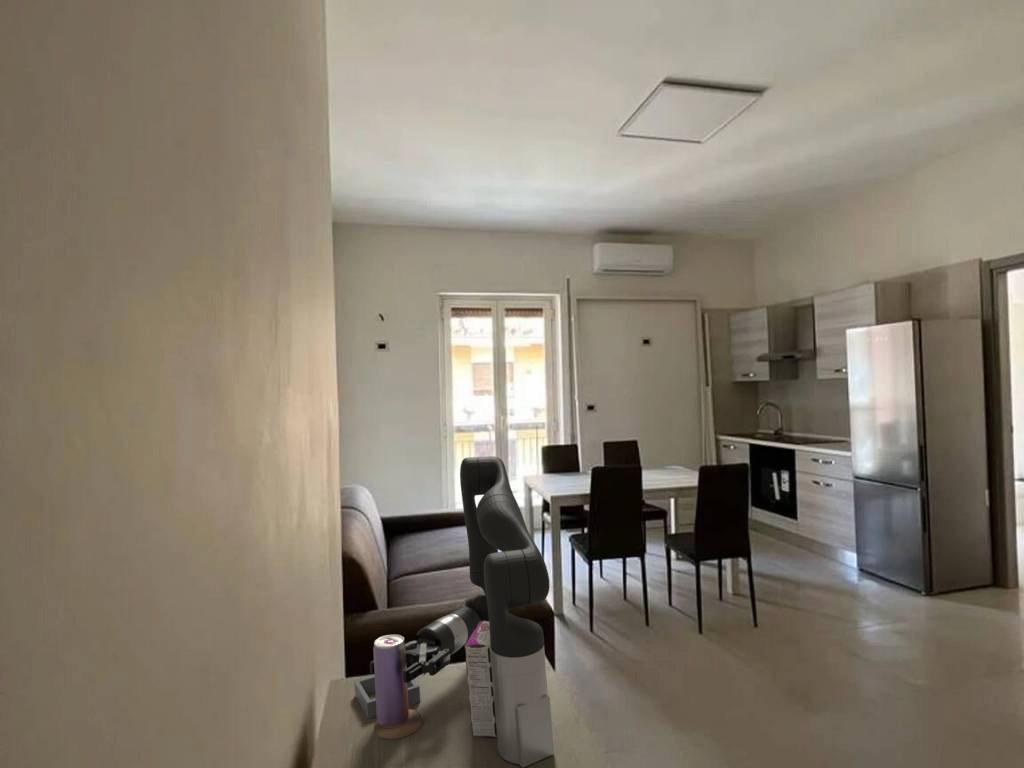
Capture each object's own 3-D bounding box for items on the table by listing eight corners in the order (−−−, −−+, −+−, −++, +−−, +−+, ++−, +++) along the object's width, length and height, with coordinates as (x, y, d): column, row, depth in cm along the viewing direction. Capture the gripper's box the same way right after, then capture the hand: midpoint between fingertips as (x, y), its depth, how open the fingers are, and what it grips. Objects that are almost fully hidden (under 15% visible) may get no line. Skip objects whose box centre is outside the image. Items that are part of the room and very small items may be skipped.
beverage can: (391, 733, 102) (387, 649, 103) (370, 723, 106) (366, 642, 106) (415, 717, 107) (411, 637, 107) (394, 708, 110) (390, 631, 111)
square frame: (420, 701, 114) (419, 686, 114) (368, 718, 109) (367, 703, 109) (404, 680, 123) (403, 666, 123) (355, 695, 118) (354, 681, 118)
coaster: (429, 728, 104) (429, 725, 104) (381, 745, 99) (381, 742, 100) (413, 706, 112) (413, 704, 112) (368, 722, 107) (368, 719, 107)
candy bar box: (485, 703, 111) (479, 619, 111) (510, 704, 110) (504, 620, 110) (470, 737, 100) (463, 644, 101) (497, 739, 99) (490, 644, 100)
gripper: (415, 616, 122) (359, 646, 108) (468, 625, 115) (415, 659, 101) (417, 650, 122) (361, 686, 108) (470, 662, 114) (418, 701, 101)
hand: (387, 673), depth 104 cm, fingers open, 8 cm apart
